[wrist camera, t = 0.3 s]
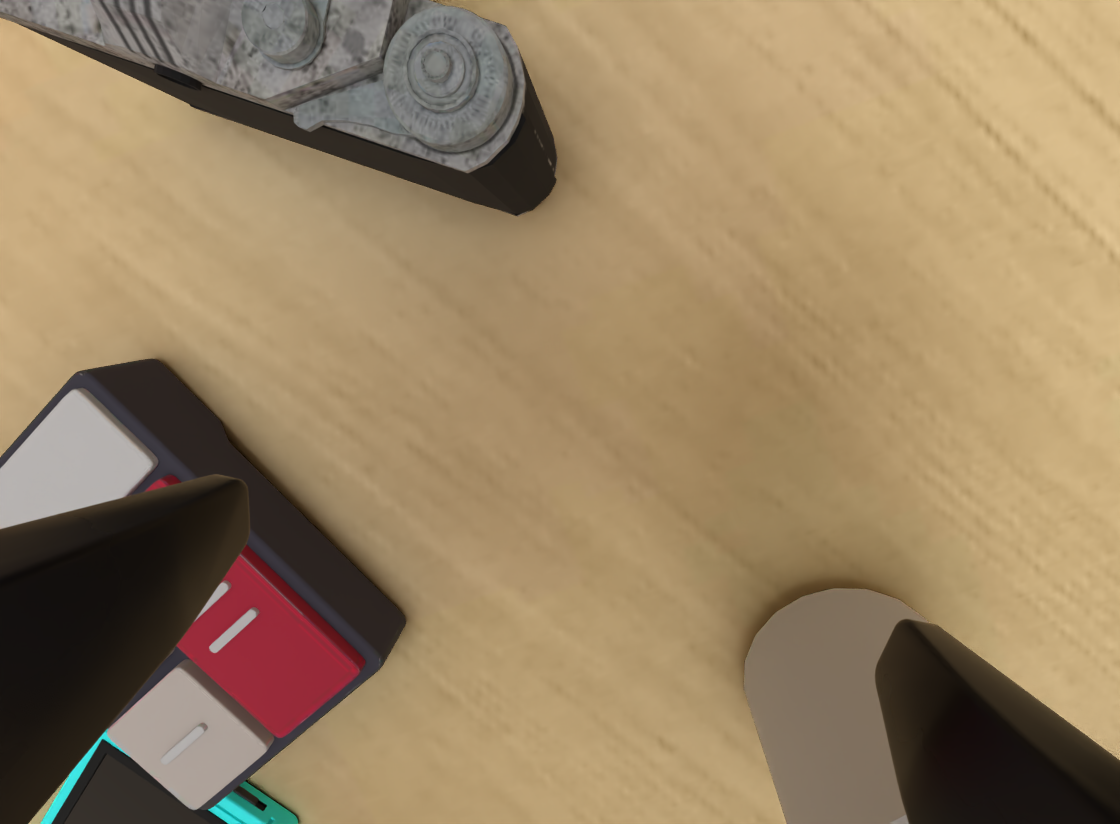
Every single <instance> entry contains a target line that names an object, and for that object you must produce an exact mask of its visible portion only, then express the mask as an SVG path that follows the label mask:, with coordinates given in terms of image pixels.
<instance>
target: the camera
mask: <svg viewBox="0 0 1120 824" xmlns="http://www.w3.org/2000/svg"><path fill="white" fill-rule="evenodd" d="M0 18H3V19H6V20H9V21H12V22H15V23H17V24H19V25H22V26H24V27H26V28H28V29H30V30H32V31H34V32H37V33H39V34H41V35H43V36H45V37H47V38H49V39H52V40H54V41H56V42H58V43H60V44H62V45H64V46H67V47H69V48H71V49H73V50H75V51H77V52H79V53H82V54H84V55H86V56H88V57H90V58H92V59H94V60H97V61H99V62H101V63H103V64H105V65H107V66H109V67H112V68H114V69H116V70H118V71H120V72H122V73H124V74H127V75H129V76H131V77H133V78H135V79H137V80H139V81H141V82H144V83H146V84H148V85H150V86H152V87H154V88H156V89H159V90H161V91H163V92H165V93H167V94H169V95H171V96H174V97H176V98H178V99H180V100H182V101H184V102H186V103H189V104H190V106H191V107H194V108H196V109H198V110H201V111H204V112H207V113H210V114H213V115H216V116H219V117H222V118H225V119H228V120H231V121H234V122H237V123H240V124H243V125H246V126H249V127H252V128H255V129H258V130H261V131H264V132H267V133H270V134H273V135H276V136H279V137H281V138H284V139H287V140H290V141H293V142H296V143H299V144H302V145H305V146H308V147H311V148H314V149H317V150H320V151H323V152H326V153H329V154H331V155H334V156H337V157H340V158H343V159H346V160H349V161H352V162H355V163H358V164H361V165H364V166H367V167H370V168H373V169H376V170H379V171H382V172H384V173H387V174H390V175H393V176H396V177H399V178H402V179H405V180H408V181H411V182H414V183H417V184H420V185H423V186H426V187H429V188H432V189H435V190H437V191H440V192H443V193H446V194H449V195H452V196H455V197H458V198H461V199H464V200H467V201H470V202H473V203H476V204H480V205H483V206H487V207H491V208H494V209H498V210H501V211H503V212H506V213H509V214H512V215H515V216H519V215H521V214H524V213H526V212H528V211H531V210H533V209H534V208H535V207H537V206H538V205H539V204H540V203H541V202H542V201H543V200H544V199H545V198H546V197H547V196H548V195H549V194H550V192H551V190H552V189H553V187H554V185H555V183H556V178H555V173H556V165H557V154H556V149H555V143H554V138H553V135H552V132H551V130H550V127H549V125H548V122H547V120H546V117H545V115H544V112H543V110H542V107H541V105H540V102H539V100H538V97H537V95H536V92H535V89H534V87H533V84H532V82H531V79H530V77H529V74H528V72H527V69H526V67H525V64H524V62H523V59H522V57H521V54H520V52H519V49H518V47H517V45H516V43H515V41H514V39H513V38H512V36H511V34H510V32H509V31H508V29H507V27H506V26H505V25H502V24H499V23H496V22H493V21H490V20H487V19H484V18H481V17H479V16H477V15H476V14H474V13H472V12H470V11H468V10H465V9H463V8H459V7H454V6H445V5H442V4H439V3H436V2H433V1H430V0H0Z"/></svg>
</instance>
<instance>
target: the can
mask: <svg viewBox="0 0 1120 824" xmlns="http://www.w3.org/2000/svg"><path fill="white" fill-rule="evenodd" d="M903 619H912V620H917V621H922V622H926V623H929V622H928V621H927V620H926V619H925V618H924V617H923V616H921V615H920V614H918V613H917V612H916V611H914V610H913V609H911V608H910V607H909V606H907V605H906V604H904V603H903V602H902V601H900V600H899V599H896V598H893V597H890V596H887V595H884V594H881V593H878V592H875V591H872V590H869V589H848V588H833V589H829V590H825V591H821V592H817V593H813V594H809V595H805V596H802V597H800V598H799V599H797V600H795V601H794V602H792V603H790V604H789V605H787V606H785V607H784V608H782V609H780V610H779V611H777V612H775V613H774V615H773V616H772V617H771V618H770V619H769V620H768V621H767V622H766V624H765V625H764V626H763V627H762V628H761V629H760V630H759V632H758V633H757V634H756V635H755V637H754V640H753V642H752V645H751V647H750V650H749V652H748V654H747V657H746V659H745V667H744V691H745V694H746V698H747V701H748V704H749V707H750V710H751V713H752V716H753V719H754V723H755V726H756V729H757V732H758V735H759V738H760V741H761V744H762V748H763V751H764V754H765V757H766V760H767V763H768V766H769V769H770V773H771V776H772V779H773V782H774V785H775V788H776V791H777V794H778V798H779V801H780V804H781V807H782V810H783V813H784V816H785V819H786V823H787V824H909V823H908V819H907V816H906V813H905V810H904V806H903V803H902V799H901V795H900V791H899V787H898V783H897V779H896V775H895V770H894V766H893V761H892V757H891V752H890V748H889V743H888V739H887V734H886V730H885V725H884V721H883V716H882V711H881V707H880V702H879V698H878V693H877V689H876V684H875V669H876V665H877V662H878V660H879V658H880V656H881V654H882V652H883V650H884V648H885V646H886V643H887V641H888V639H889V637H890V635H891V633H892V631H893V629H894V627H895V625H896V624H897V623H898V622H899V621H900V620H903Z"/></svg>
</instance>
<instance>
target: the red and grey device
mask: <svg viewBox="0 0 1120 824" xmlns="http://www.w3.org/2000/svg"><path fill="white" fill-rule="evenodd" d="M213 474H218V475H223V476H228V477H233V478H237V479H241V480H243V481H244V482H245V483H246V485H247V487H248V495H249V514H250V534H249V538H248V541H247V544H246V546H245V547H244V549H243V551H242V552H241V553H240V555H239V556H238V558H237V559H236V561H235V562H234V564H233V565H232V567H231V568H230V570H229V571H228V573H227V574H226V576H225V577H224V578H223V580H222V581H221V583H220V584H219V586H218V587H217V589H216V590H215V592H214V593H213V595H212V596H211V598H210V599H209V601H208V602H207V603H206V605H205V606H204V608H203V609H202V611H201V612H200V614H199V615H198V617H197V618H196V620H195V621H194V623H193V624H192V625H191V627H190V628H189V629H188V631H187V632H186V634H185V635H184V636H183V638H182V639H181V640H180V642H179V643H178V644H177V645H176V647H175V648H174V649H173V650H172V652H171V653H170V654H169V655H168V657H167V658H166V659H165V660H164V661H163V663H162V664H161V665H160V666H159V667H158V669H157V670H156V671H155V672H154V673H153V675H152V676H151V677H150V678H149V679H148V681H147V682H146V683H145V684H144V685H143V687H142V688H141V689H140V690H139V691H138V693H137V694H136V695H135V696H134V697H133V699H132V700H131V701H130V702H129V703H128V705H127V706H126V707H125V708H124V709H123V711H122V712H121V713H120V714H119V715H118V717H117V718H116V719H115V720H114V721H113V723H112V724H111V725H110V726H109V727H108V731H107V735H108V737H109V738H110V739H111V740H112V741H113V742H114V743H115V744H116V745H117V746H118V747H119V748H121V749H122V750H123V751H124V752H125V753H126V754H127V755H129V756H130V757H131V758H132V759H133V760H134V761H135V762H137V763H138V764H139V765H140V766H141V767H142V768H143V769H145V770H146V771H147V772H148V773H149V774H150V775H151V776H152V777H154V778H155V779H156V780H157V781H158V782H159V783H160V784H162V785H163V786H164V787H165V788H166V789H167V790H168V791H170V792H171V793H172V794H173V795H174V796H175V797H176V798H178V799H179V800H180V801H181V802H182V803H183V804H184V805H186V806H187V807H188V808H190V809H192V810H196V809H198V808H199V809H202V810H208V809H211V808H212V807H214V806H215V805H216V804H218V803H219V802H220V801H221V800H222V799H224V798H225V797H226V796H227V795H228V794H230V793H231V792H232V791H233V790H234V789H236V788H237V787H238V786H239V785H240V784H242V783H243V782H244V781H245V780H247V779H248V778H249V777H250V776H251V775H253V774H254V773H255V772H256V771H257V770H259V769H260V768H261V767H262V766H263V765H265V764H266V763H267V762H268V761H270V760H271V759H272V758H273V757H274V756H276V755H277V754H278V753H279V752H280V751H282V750H283V749H284V748H285V747H286V746H288V745H289V744H290V743H291V742H293V741H294V740H295V739H296V738H297V737H299V736H300V735H301V734H302V733H303V732H305V731H306V730H307V729H308V728H309V727H311V726H312V725H313V724H314V723H315V722H317V721H318V720H319V719H320V718H322V717H323V716H324V715H325V714H326V713H328V712H329V711H330V710H331V709H332V708H334V707H335V706H336V705H337V704H338V703H340V702H341V701H342V700H343V699H345V698H346V697H347V696H348V695H349V694H351V693H352V692H353V691H354V690H355V689H357V688H358V687H359V686H360V685H361V684H363V683H364V682H365V681H366V680H368V679H369V678H370V677H371V676H372V675H374V674H375V673H376V672H377V671H378V670H379V669H380V668H381V667H382V666H383V664H384V662H385V661H386V659H387V657H388V655H389V654H390V652H391V650H392V648H393V646H394V645H395V643H396V641H397V639H398V638H399V636H400V634H401V632H402V630H403V629H404V627H405V624H406V619H405V616H404V615H403V614H402V613H401V612H400V611H399V610H398V609H397V608H396V607H395V606H394V605H393V604H392V603H391V602H390V601H389V600H388V599H387V598H386V597H385V596H384V595H383V594H382V593H381V592H380V591H379V590H378V589H377V588H376V587H375V586H374V585H373V584H372V583H371V582H370V581H369V580H368V579H367V578H366V577H365V576H364V575H363V574H362V573H361V572H360V571H359V570H358V569H357V568H356V567H355V566H354V565H353V564H352V563H351V562H350V561H349V560H348V559H347V558H346V557H345V556H344V555H343V554H342V553H341V552H340V551H339V550H338V549H337V548H336V547H335V546H334V545H333V544H332V543H331V542H330V541H329V540H327V539H326V538H325V537H324V536H323V535H322V534H321V533H320V532H319V531H318V530H317V529H316V528H315V527H314V526H313V525H312V524H311V523H310V522H309V521H308V520H307V519H306V518H305V517H304V516H303V515H302V514H301V513H300V512H299V511H298V510H297V509H296V508H295V507H294V506H293V505H292V504H291V503H290V502H289V501H288V500H287V499H286V498H285V497H284V496H283V495H282V494H281V493H280V492H279V491H278V490H277V489H276V488H275V487H274V486H273V485H272V484H271V483H270V482H269V481H268V480H267V479H266V478H265V477H264V476H263V475H262V474H261V473H260V472H259V471H258V470H257V469H256V468H255V467H254V466H252V465H251V464H250V463H249V462H248V461H247V460H246V459H245V458H244V457H243V456H242V455H241V454H240V453H239V452H238V451H237V450H236V449H235V448H234V447H233V446H232V445H231V444H230V442H229V441H228V438H227V436H226V433H225V431H224V428H223V426H222V423H221V421H220V420H219V419H218V418H217V417H216V416H215V415H214V414H213V413H212V412H211V411H210V410H209V409H208V408H207V407H206V406H205V405H204V404H203V403H202V402H201V401H200V400H199V399H198V398H197V397H196V396H195V395H194V394H193V393H192V392H191V391H190V390H189V389H187V388H186V387H185V386H184V385H183V384H182V383H181V382H180V381H179V380H178V379H177V378H176V377H175V376H174V375H173V374H172V373H171V372H170V371H169V370H168V369H167V368H166V367H165V366H164V365H163V364H162V363H161V362H160V361H158V360H156V359H145V360H139V361H133V362H127V363H122V364H116V365H110V366H105V367H99V368H93V369H88V370H83V371H79V372H77V373H75V374H74V375H73V376H72V377H71V378H70V379H69V380H68V381H67V383H66V384H65V385H64V386H63V387H62V388H61V389H60V391H59V392H58V393H57V394H56V395H55V396H54V397H53V398H52V400H51V401H50V402H49V403H48V404H47V405H46V406H45V407H44V409H43V410H42V411H41V412H40V413H39V414H38V415H37V417H36V418H35V419H34V420H33V421H32V422H31V423H30V424H29V426H28V427H27V428H26V429H25V430H24V431H23V432H22V433H21V435H20V436H19V437H18V438H17V439H16V440H15V441H14V443H13V444H12V445H11V446H10V447H9V448H8V449H7V450H6V452H5V453H4V454H3V455H2V456H1V457H0V529H2V528H6V527H9V526H13V525H17V524H21V523H25V522H29V521H33V520H37V519H41V518H45V517H49V516H52V515H56V514H60V513H64V512H68V511H72V510H76V509H80V508H84V507H88V506H91V505H95V504H99V503H103V502H107V501H111V500H115V499H119V498H123V497H127V496H131V495H134V494H138V493H142V492H146V491H150V490H154V489H158V488H162V487H166V486H170V485H174V484H177V483H181V482H185V481H189V480H193V479H197V478H201V477H205V476H209V475H213Z"/></svg>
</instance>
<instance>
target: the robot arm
mask: <svg viewBox="0 0 1120 824" xmlns="http://www.w3.org/2000/svg"><path fill="white" fill-rule="evenodd" d="M249 534H250V514H249V495H248V487H247V485H246V483H245V482H244V481H243V480H241V479H237V478H233V477H228V476H223V475H218V474H213V475H209V476H205V477H201V478H197V479H193V480H189V481H185V482H181V483H177V484H174V485H170V486H166V487H162V488H158V489H154V490H150V491H146V492H142V493H138V494H134V495H131V496H127V497H123V498H119V499H115V500H111V501H107V502H103V503H99V504H95V505H91V506H88V507H84V508H80V509H76V510H72V511H68V512H64V513H60V514H56V515H52V516H49V517H45V518H41V519H37V520H33V521H29V522H25V523H21V524H17V525H13V526H9V527H6V528H2V529H0V824H28V823H29V822H30V821H31V820H32V818H33V817H34V816H35V815H36V814H37V812H38V811H39V810H40V809H41V808H42V806H43V805H44V804H45V803H46V802H47V800H48V799H49V798H50V797H51V796H52V794H53V793H54V792H55V791H56V790H57V788H58V787H59V786H60V785H61V784H62V782H63V781H64V780H65V779H66V778H67V776H68V775H69V774H70V773H71V772H72V770H73V769H74V768H75V767H76V766H77V764H78V763H79V762H80V761H81V760H82V758H83V757H84V756H85V755H86V754H87V752H88V751H89V750H90V749H91V748H92V746H93V745H94V744H95V743H96V742H97V740H98V739H99V738H100V737H101V736H102V735H103V733H104V732H105V731H106V730H107V729H108V727H109V726H110V725H111V724H112V723H113V721H114V720H115V719H116V718H117V717H118V715H119V714H120V713H121V712H122V711H123V709H124V708H125V707H126V706H127V705H128V703H129V702H130V701H131V700H132V699H133V697H134V696H135V695H136V694H137V693H138V691H139V690H140V689H141V688H142V687H143V685H144V684H145V683H146V682H147V681H148V679H149V678H150V677H151V676H152V675H153V673H154V672H155V671H156V670H157V669H158V667H159V666H160V665H161V664H162V663H163V661H164V660H165V659H166V658H167V657H168V655H169V654H170V653H171V652H172V650H173V649H174V648H175V647H176V645H177V644H178V643H179V642H180V640H181V639H182V638H183V636H184V635H185V634H186V632H187V631H188V629H189V628H190V627H191V625H192V624H193V623H194V621H195V620H196V618H197V617H198V615H199V614H200V612H201V611H202V609H203V608H204V606H205V605H206V603H207V602H208V601H209V599H210V598H211V596H212V595H213V593H214V592H215V590H216V589H217V587H218V586H219V584H220V583H221V581H222V580H223V578H224V577H225V576H226V574H227V573H228V571H229V570H230V568H231V567H232V565H233V564H234V562H235V561H236V559H237V558H238V556H239V555H240V553H241V552H242V551H243V549H244V547H245V546H246V544H247V541H248V538H249ZM875 684H876V689H877V693H878V698H879V702H880V707H881V711H882V716H883V721H884V725H885V730H886V734H887V739H888V743H889V748H890V752H891V757H892V761H893V766H894V770H895V775H896V779H897V783H898V787H899V791H900V795H901V799H902V803H903V806H904V810H905V813H906V816H907V819H908V823H909V824H1120V760H1119V759H1117V758H1116V757H1115V756H1113V755H1112V754H1111V753H1109V752H1108V751H1106V750H1105V749H1104V748H1102V747H1101V746H1100V745H1098V744H1097V743H1096V742H1094V741H1093V740H1092V739H1090V738H1089V737H1088V736H1086V735H1085V734H1083V733H1082V732H1081V731H1079V730H1078V729H1077V728H1075V727H1074V726H1073V725H1071V724H1070V723H1069V722H1067V721H1066V720H1065V719H1063V718H1062V717H1061V716H1059V715H1058V714H1056V713H1055V712H1054V711H1052V710H1051V709H1050V708H1048V707H1047V706H1046V705H1044V704H1043V703H1042V702H1040V701H1039V700H1038V699H1036V698H1035V697H1033V696H1032V695H1031V694H1029V693H1028V692H1027V691H1025V690H1024V689H1023V688H1021V687H1020V686H1019V685H1017V684H1016V683H1015V682H1013V681H1012V680H1011V679H1009V678H1008V677H1006V676H1005V675H1004V674H1002V673H1001V672H1000V671H998V670H997V669H996V668H994V667H993V666H992V665H990V664H989V663H988V662H986V661H985V660H984V659H982V658H981V657H979V656H978V655H977V654H975V653H974V652H973V651H971V650H970V649H969V648H967V647H966V646H965V645H963V644H962V643H961V642H959V641H958V640H956V639H955V638H954V637H952V636H951V635H950V634H948V633H947V632H946V631H944V630H943V629H942V628H940V627H939V626H937V625H934V624H931V623H926V622H922V621H917V620H912V619H903V620H900V621H899V622H898V623H897V624H896V625H895V627H894V629H893V631H892V633H891V635H890V637H889V639H888V641H887V643H886V646H885V648H884V650H883V652H882V654H881V656H880V658H879V660H878V662H877V665H876V669H875Z"/></svg>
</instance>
